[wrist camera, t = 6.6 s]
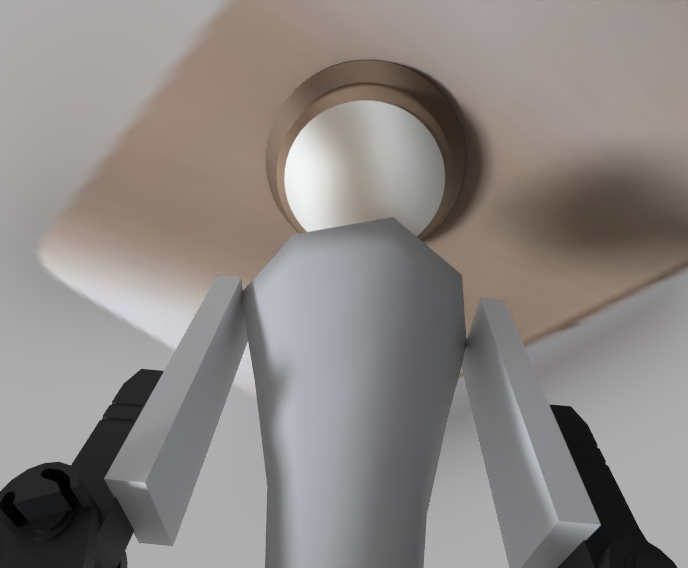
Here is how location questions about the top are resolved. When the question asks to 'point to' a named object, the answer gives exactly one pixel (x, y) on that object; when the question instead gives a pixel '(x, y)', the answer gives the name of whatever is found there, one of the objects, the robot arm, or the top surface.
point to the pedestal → (366, 150)
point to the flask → (353, 392)
